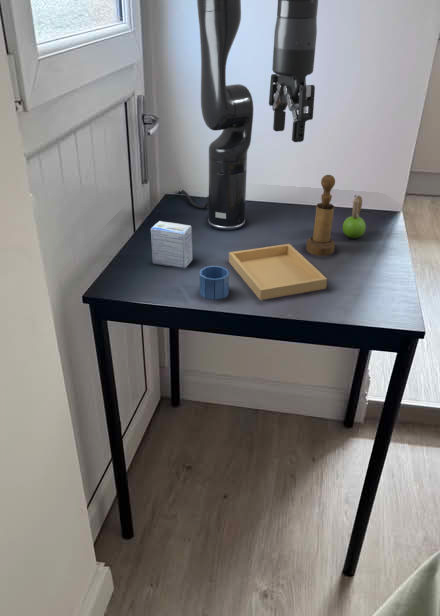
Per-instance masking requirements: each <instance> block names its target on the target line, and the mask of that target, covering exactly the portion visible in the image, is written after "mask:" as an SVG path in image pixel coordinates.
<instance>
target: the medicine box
mask: <svg viewBox="0 0 440 616" xmlns="http://www.w3.org/2000/svg"><path fill="white" fill-rule="evenodd" d="M192 231H193V229H192V226H191V225H190V224H189V225H188V224H182V223H177V222H168V221H162V220H159V221H157V222H156V223H155V224H154V225H152V227H151V228H150V237H151V238H150V239H151V240H150V241H151V255H152V264H153V265H160V266H164V267H165V266H166V267H178V268H184V269H186V268H187V267H188V266H189V264H190V263H191V262H192V261H193V233H192Z"/></svg>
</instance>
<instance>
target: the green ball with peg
mask: <svg viewBox="0 0 440 616" xmlns="http://www.w3.org/2000/svg"><path fill="white" fill-rule="evenodd" d="M353 197H354V199H353V201H352V203H353V204H352V211H351V216H348V217H346V218H345V220H344V221H343V223H342V232H343V234H344V235H345V236H346V238H347V237H348V238H349V239H358V238H360V237H362V236H363V235H364V234H365V232H366V228H367V227H366V222H365V220H364V219H363V218H362V217H360V213H361V210H362V206H363V197H362V196H361V195H360V194H354V195H353Z"/></svg>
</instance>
